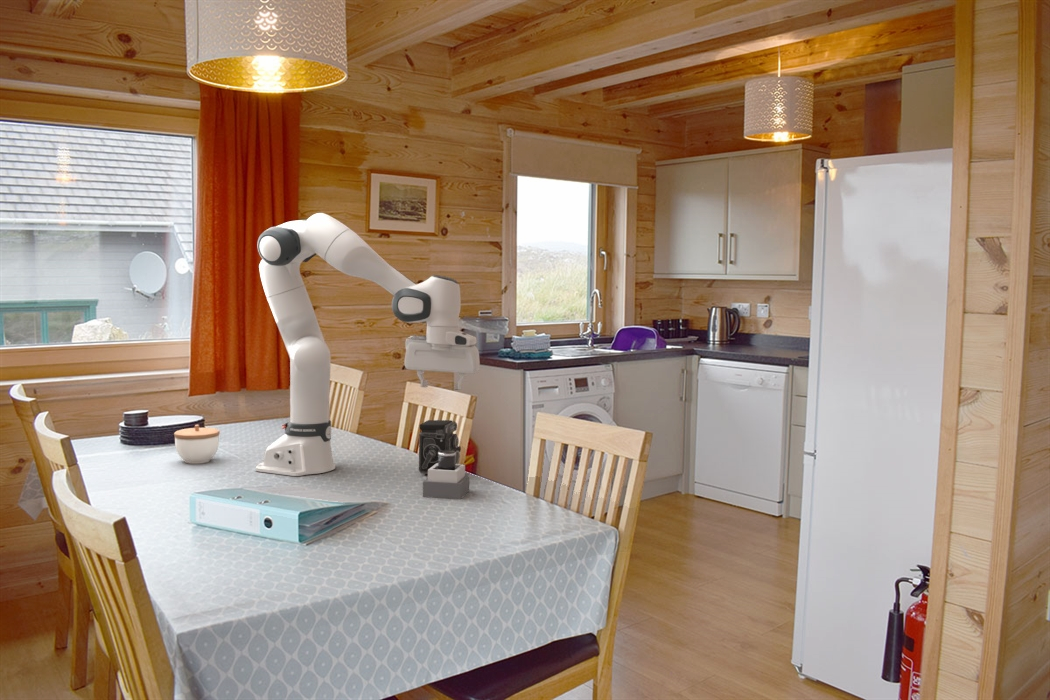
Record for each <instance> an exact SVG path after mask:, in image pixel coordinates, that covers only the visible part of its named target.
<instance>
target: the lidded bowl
mask: <svg viewBox="0 0 1050 700" xmlns="http://www.w3.org/2000/svg"><path fill="white" fill-rule="evenodd" d="M173 435H174V445H175V449H176V452H177V455H178V456H179V458H181V460H183V461H184V463H185V464H193V465H195V464H205V463H209V462H210V461H211V460H212V458H213V457H214V456H215V455H216V454H217V452H218V449H219V444H220V429H218V428H214V427H200V424H195V425H194V427H188V428H184V429H183V428H182V429H179V430H176V431H175V432H174V433H173Z"/></svg>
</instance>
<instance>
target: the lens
mask: <svg viewBox="0 0 1050 700" xmlns="http://www.w3.org/2000/svg"><path fill="white" fill-rule="evenodd" d="M455 455H456V452H455V451H452V450H442V451H439V452H438V469H439V470H455Z"/></svg>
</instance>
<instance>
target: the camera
mask: <svg viewBox="0 0 1050 700" xmlns="http://www.w3.org/2000/svg"><path fill="white" fill-rule="evenodd" d="M419 430H421V431H419V433H418V471H419V472H418V473H420V474H422V476H425V475H428V469H430V468H431V467H432V466H434V465H435V464H436V463H438V452H439V451H442V450H452V451H455V452H456V455H455V464H460V458H461V455H460V453H461V450H462V446H461V445H459V443H460V440H459V437H458V434H457V433H454V432H456V431H457V430H458V423H457V422H456V421H454V420H452V419H447V420H445V419H443V420H442V419H440V420H439V419H438V420H437V419H436V420H435V419H428V420H426V421H424V422H422V423H420V424H419Z"/></svg>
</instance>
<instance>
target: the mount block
mask: <svg viewBox="0 0 1050 700" xmlns="http://www.w3.org/2000/svg"><path fill="white" fill-rule="evenodd" d="M469 491H470V475H468V474H467V475H466V465H465V464H460V463H458V464H455V470H439V469H438V463H436V464H435V465H434V466H432V467H431V468H430V469H428V474H427V477H426V478H425V479H424V480H423V481H422V498H423V497H424V498H435V499H448V500H449V499H451V500H461V499H462V498H464V497H465V496H466V494H467V493H468V492H469Z"/></svg>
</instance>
